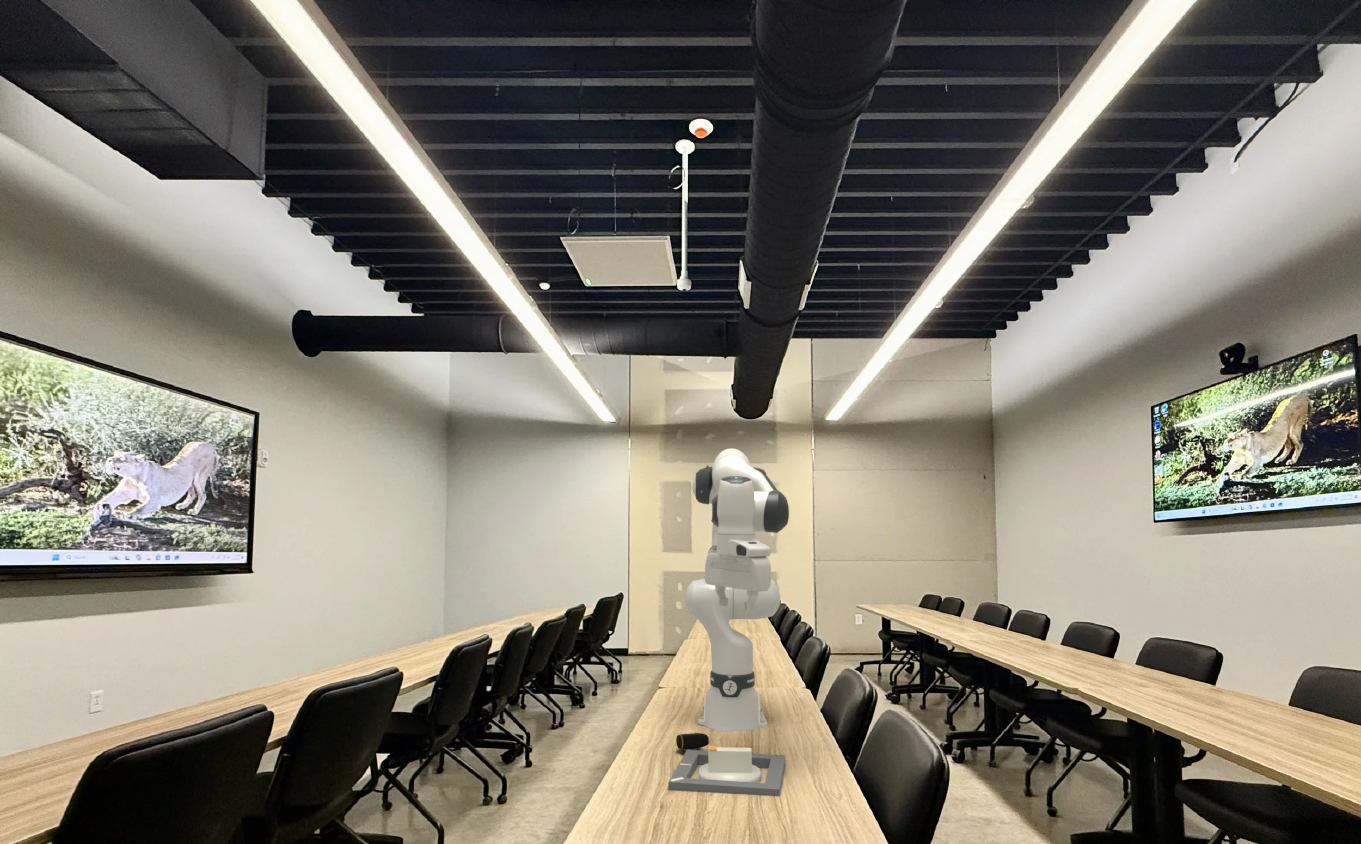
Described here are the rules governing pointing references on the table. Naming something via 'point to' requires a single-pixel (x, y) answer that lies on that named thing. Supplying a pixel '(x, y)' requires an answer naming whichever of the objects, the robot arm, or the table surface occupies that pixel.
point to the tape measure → (692, 741)
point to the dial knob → (730, 765)
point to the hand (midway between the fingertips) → (736, 608)
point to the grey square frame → (698, 757)
